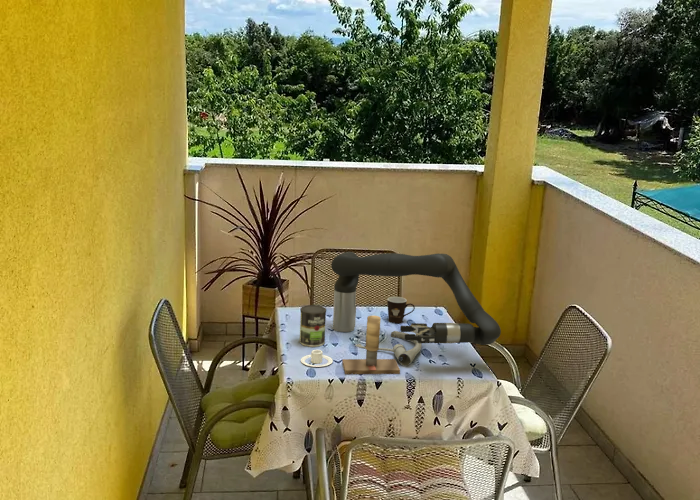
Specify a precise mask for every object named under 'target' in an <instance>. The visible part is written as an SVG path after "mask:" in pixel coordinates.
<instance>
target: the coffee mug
mask: <svg viewBox="0 0 700 500" xmlns="http://www.w3.org/2000/svg"><path fill="white" fill-rule="evenodd" d="M386 300H387V315H388V317H387V318H388V322H389V323H391V324H395V325H396V324H397V325H398V324H402V323H403V322H404V318H405V317H406V316H408V315H410V314H411V313H413V312H414V311H415V309H416V306H415V305H414V304H413V303H407V302H408V301H407V299H406V298H405V297H402V296H390V297H388V298H387V299H386ZM408 306H412V307H413V309H412V310H411V311H410V312H409V311H408V312H407V313H406V309H407V307H408ZM405 313H406V314H405Z"/></svg>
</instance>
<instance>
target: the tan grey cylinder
mask: <svg viewBox="0 0 700 500" xmlns="http://www.w3.org/2000/svg"><path fill="white" fill-rule="evenodd" d="M381 319H382V318H381V316H378V315H368V316H367V320H366V331H365V332H366V334H365V347H366V349H365V350H366V353H365V354H366V355H365V359H366V365H368V366H376V365H377V359H378V351H380V350H379V348H380V333H381Z"/></svg>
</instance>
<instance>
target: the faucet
mask: <svg viewBox="0 0 700 500" xmlns="http://www.w3.org/2000/svg"><path fill="white" fill-rule="evenodd" d="M405 334H409V332H401V331H397V330H393V331H391V333H390V336H391V337H392V338H398V339H402V340H405V339H404V338H405ZM408 342H412V343H413V344H415V345H414V347H412V348H411V349H408V350H407V349H406V347H405V346H404V345H403V344H401V343H397V344H395V345H394V346H393V347H392V348H389V347H388V348H386V347H379V350H378V351H384V352H385V351H386V352H391V353H393V355H394V357H396V358H395V359H397V360H398V362H399V365H402V366H403V367H408V366H410V364H412V362H413V361H414V360H415V358H416V356H417V354H419V353H420V351H421V350H422V347H423V346H422V344H423V343H418V342H417V341H415V340H408ZM354 346H355V347H357V348H359V349H365V350H366V345H365V346H364V345H362V344H361V343H359V344H355V345H354Z"/></svg>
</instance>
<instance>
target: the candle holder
mask: <svg viewBox="0 0 700 500" xmlns="http://www.w3.org/2000/svg"><path fill="white" fill-rule="evenodd" d="M309 358H310V362H311V363H312V364H310V363H307V362H306V360H307V359H309ZM323 359H325V360H327V362H326V363H324V364H322V363H323ZM300 362H301V364H304V365H306V366H308V367H314V368H316V367H317V368H318V367H319V368H321V367H327V366H329V365H331V364H332V363H333V362H334V361H333V358H332V357H330V356H328V355H325V354H323V351H322V350H321V349H313V350H311V353H310V354H307V355H304V356H302V357H301V359H300Z"/></svg>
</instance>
